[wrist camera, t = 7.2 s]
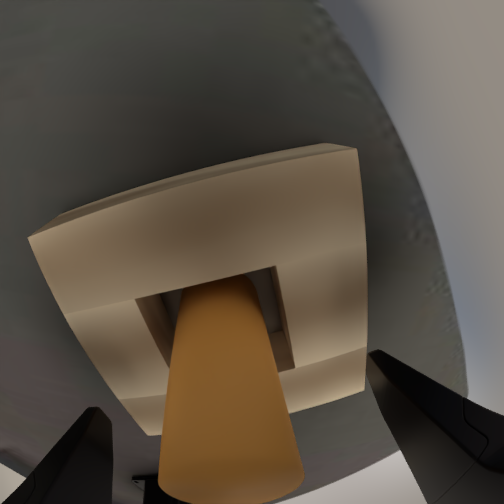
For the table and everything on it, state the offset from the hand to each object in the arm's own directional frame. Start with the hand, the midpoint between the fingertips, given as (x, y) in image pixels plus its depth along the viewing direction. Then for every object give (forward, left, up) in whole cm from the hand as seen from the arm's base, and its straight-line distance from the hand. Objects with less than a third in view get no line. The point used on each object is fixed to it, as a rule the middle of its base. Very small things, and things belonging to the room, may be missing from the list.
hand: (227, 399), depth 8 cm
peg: (0, 0, -6) cm, 6 cm away
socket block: (0, 0, -6) cm, 6 cm away
